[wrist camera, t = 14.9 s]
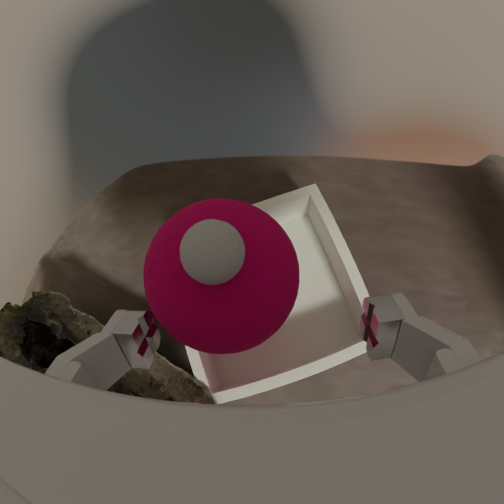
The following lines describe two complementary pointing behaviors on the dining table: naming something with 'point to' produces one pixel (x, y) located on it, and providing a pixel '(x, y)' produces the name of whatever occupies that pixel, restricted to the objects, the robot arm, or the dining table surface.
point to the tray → (298, 309)
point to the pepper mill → (221, 276)
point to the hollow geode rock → (75, 331)
